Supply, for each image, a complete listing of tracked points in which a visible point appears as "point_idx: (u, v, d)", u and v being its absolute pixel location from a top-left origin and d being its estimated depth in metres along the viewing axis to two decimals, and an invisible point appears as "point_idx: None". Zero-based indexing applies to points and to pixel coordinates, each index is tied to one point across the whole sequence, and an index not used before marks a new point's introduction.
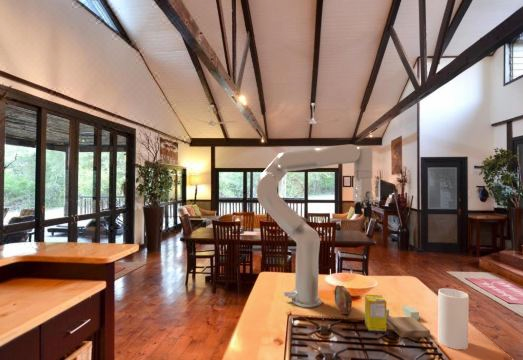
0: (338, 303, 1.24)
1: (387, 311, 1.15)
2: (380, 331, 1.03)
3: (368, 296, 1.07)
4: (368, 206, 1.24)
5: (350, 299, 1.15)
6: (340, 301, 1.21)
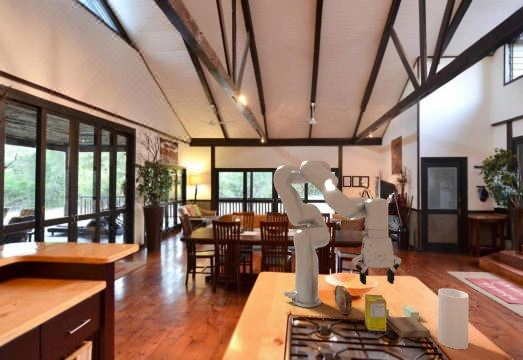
0: (338, 303, 1.24)
1: (387, 311, 1.15)
2: (380, 331, 1.03)
3: (368, 296, 1.07)
4: None
5: (350, 299, 1.15)
6: (340, 301, 1.21)
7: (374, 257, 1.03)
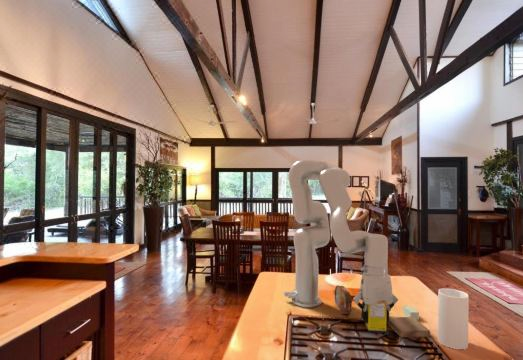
0: (338, 303, 1.24)
1: None
2: (380, 331, 1.03)
3: None
4: None
5: (350, 299, 1.15)
6: (340, 301, 1.21)
7: (373, 294, 1.03)
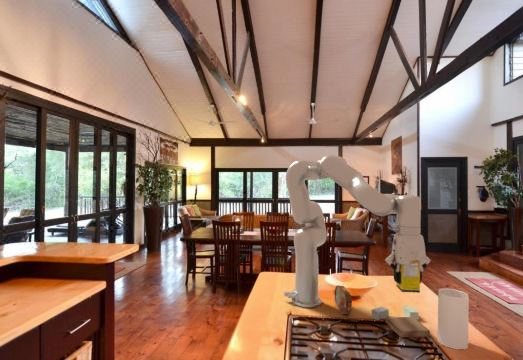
0: (338, 303, 1.24)
1: (387, 311, 1.15)
2: (414, 291, 1.02)
3: None
4: None
5: (350, 299, 1.15)
6: (340, 301, 1.21)
7: (406, 254, 1.03)
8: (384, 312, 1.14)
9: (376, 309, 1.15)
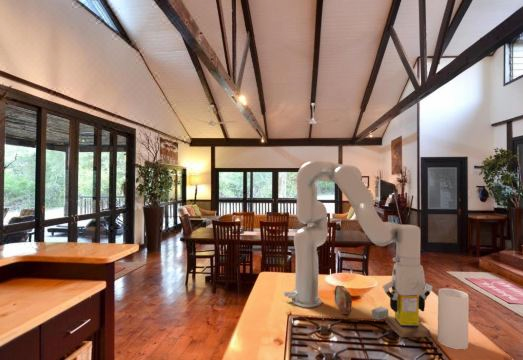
0: (338, 303, 1.24)
1: (387, 310, 1.15)
2: (413, 326, 1.02)
3: None
4: None
5: (350, 299, 1.15)
6: (340, 301, 1.21)
7: (406, 285, 1.03)
8: (384, 312, 1.14)
9: (376, 309, 1.15)
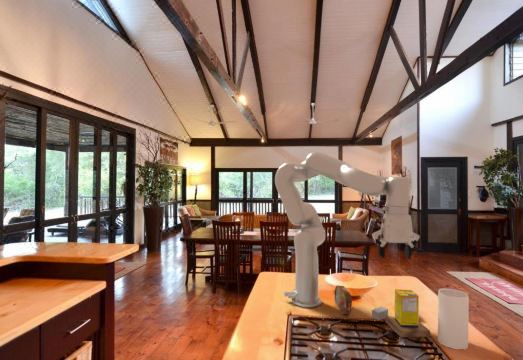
0: (338, 303, 1.24)
1: (387, 310, 1.15)
2: (413, 326, 1.02)
3: (399, 291, 1.06)
4: None
5: (350, 299, 1.15)
6: (340, 301, 1.21)
7: (394, 232, 1.08)
8: (384, 312, 1.14)
9: (376, 309, 1.15)
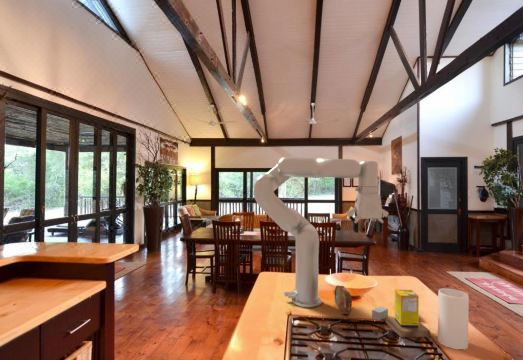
0: (338, 303, 1.24)
1: (386, 310, 1.15)
2: (413, 326, 1.02)
3: (399, 291, 1.06)
4: None
5: (350, 299, 1.15)
6: (340, 301, 1.21)
7: (365, 209, 1.22)
8: (384, 312, 1.14)
9: (376, 309, 1.15)
